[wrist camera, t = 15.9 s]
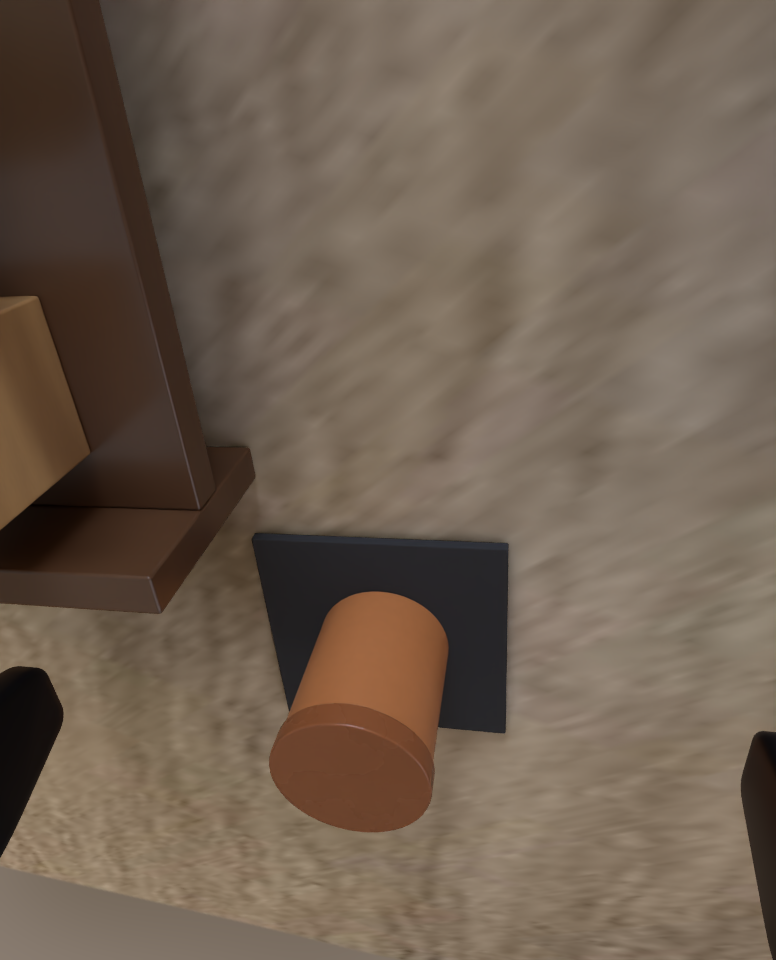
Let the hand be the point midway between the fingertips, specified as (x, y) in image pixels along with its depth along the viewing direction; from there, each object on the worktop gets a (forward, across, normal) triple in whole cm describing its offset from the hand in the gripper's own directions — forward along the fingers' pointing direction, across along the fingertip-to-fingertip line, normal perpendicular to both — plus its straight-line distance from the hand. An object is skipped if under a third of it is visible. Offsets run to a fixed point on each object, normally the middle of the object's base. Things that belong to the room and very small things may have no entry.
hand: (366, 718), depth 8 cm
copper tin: (+13, +3, +11) cm, 17 cm away
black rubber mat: (+13, +3, +11) cm, 17 cm away
